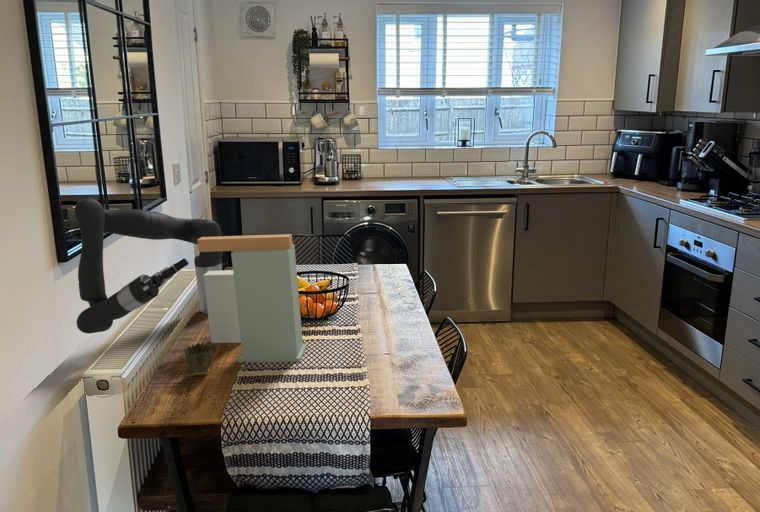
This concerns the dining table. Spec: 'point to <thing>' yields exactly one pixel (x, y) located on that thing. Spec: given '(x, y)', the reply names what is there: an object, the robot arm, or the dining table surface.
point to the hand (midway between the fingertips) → (181, 264)
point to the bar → (245, 243)
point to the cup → (199, 358)
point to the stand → (268, 305)
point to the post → (222, 306)
